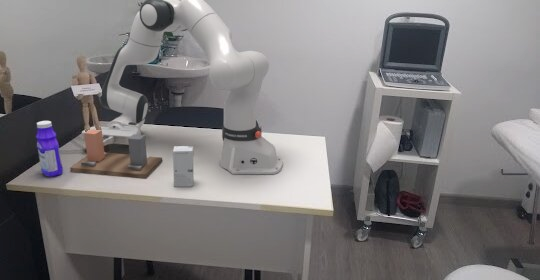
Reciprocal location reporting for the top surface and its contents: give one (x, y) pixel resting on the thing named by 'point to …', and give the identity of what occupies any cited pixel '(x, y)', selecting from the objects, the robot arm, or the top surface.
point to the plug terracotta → (94, 145)
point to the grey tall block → (137, 150)
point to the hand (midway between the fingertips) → (100, 143)
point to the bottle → (48, 149)
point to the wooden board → (117, 166)
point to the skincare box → (183, 166)
